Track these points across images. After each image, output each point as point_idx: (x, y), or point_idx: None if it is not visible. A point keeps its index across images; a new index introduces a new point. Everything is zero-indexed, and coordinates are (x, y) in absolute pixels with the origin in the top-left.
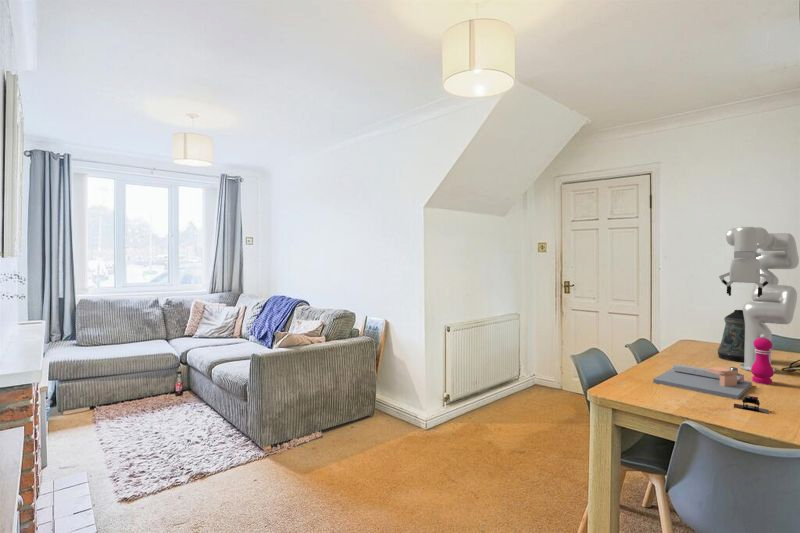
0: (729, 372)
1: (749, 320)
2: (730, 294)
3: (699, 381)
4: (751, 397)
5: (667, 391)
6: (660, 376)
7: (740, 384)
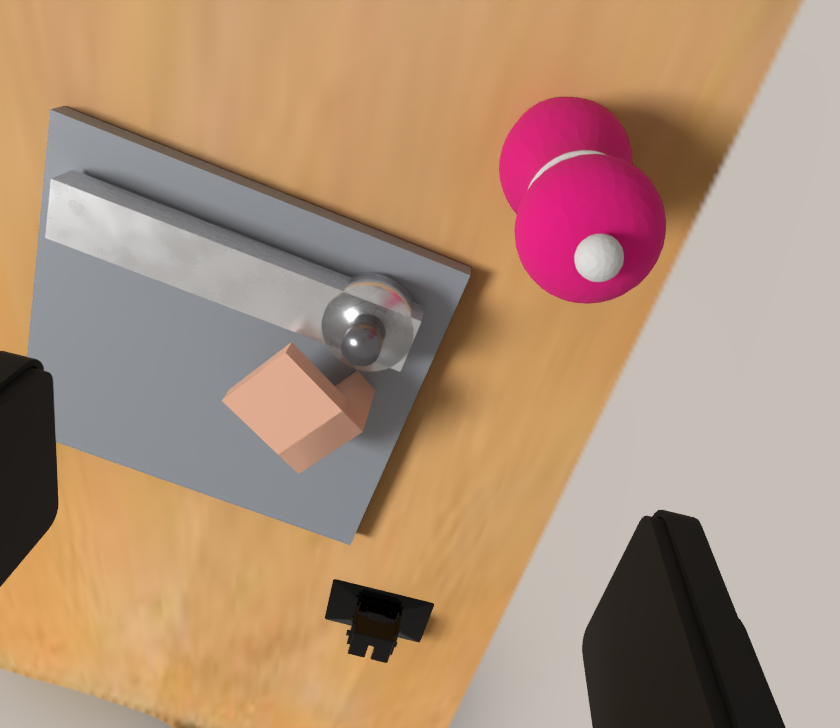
0: (322, 457)
1: None
2: (38, 537)
3: (212, 388)
4: (372, 644)
5: (109, 523)
6: None
7: None
